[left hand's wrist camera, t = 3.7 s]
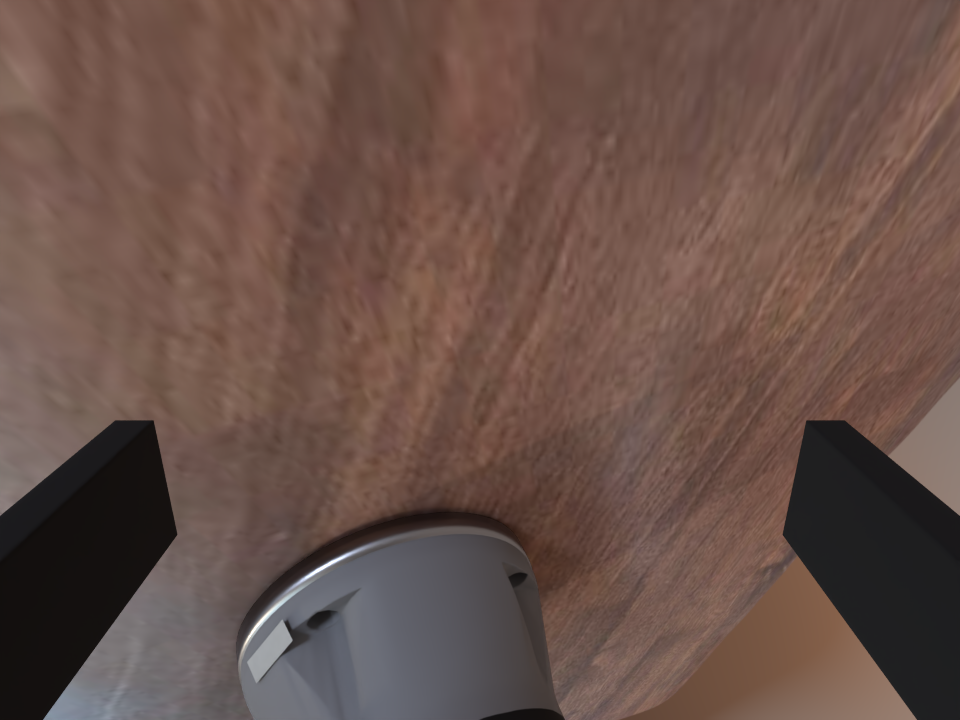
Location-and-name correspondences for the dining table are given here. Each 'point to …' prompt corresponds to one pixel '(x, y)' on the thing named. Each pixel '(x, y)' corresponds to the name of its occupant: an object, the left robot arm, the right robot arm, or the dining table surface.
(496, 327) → the dining table surface
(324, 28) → the dining table surface
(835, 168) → the dining table surface
